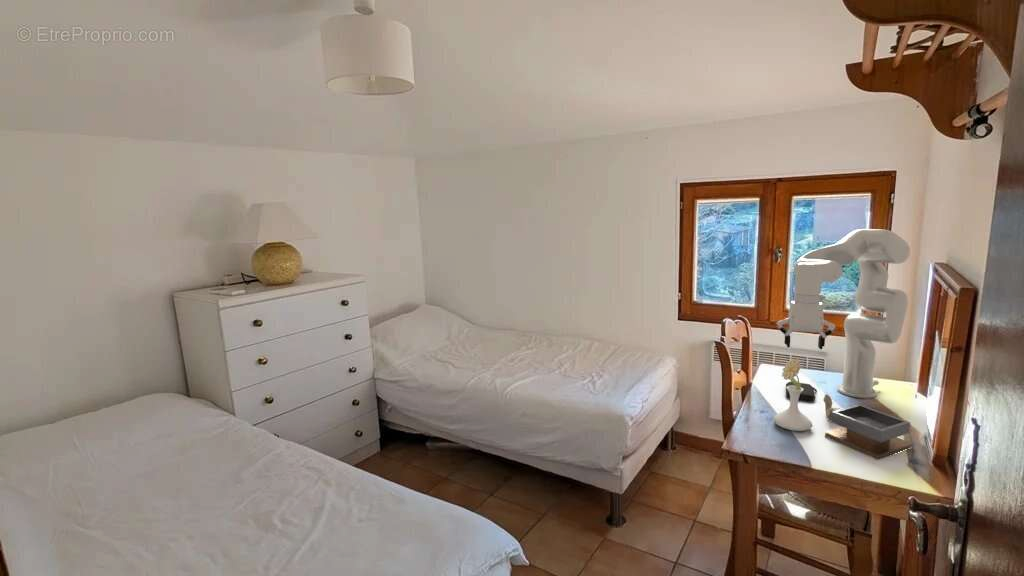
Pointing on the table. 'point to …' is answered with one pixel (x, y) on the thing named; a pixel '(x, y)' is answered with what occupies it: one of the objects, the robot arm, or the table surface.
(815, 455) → the table surface
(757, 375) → the table surface
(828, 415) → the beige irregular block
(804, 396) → the carrying case or bag
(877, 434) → the tray stand
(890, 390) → the table surface
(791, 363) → the flower in vase
